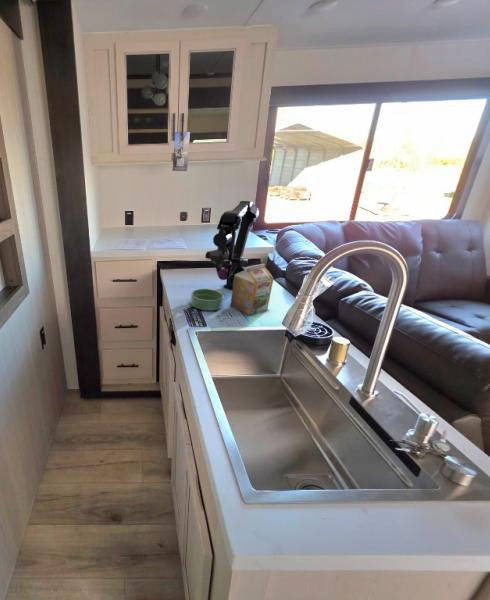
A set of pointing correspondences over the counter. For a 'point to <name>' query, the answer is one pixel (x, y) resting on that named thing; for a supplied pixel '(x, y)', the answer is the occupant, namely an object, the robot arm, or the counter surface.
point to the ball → (223, 274)
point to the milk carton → (252, 290)
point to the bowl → (206, 299)
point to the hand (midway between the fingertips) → (223, 277)
